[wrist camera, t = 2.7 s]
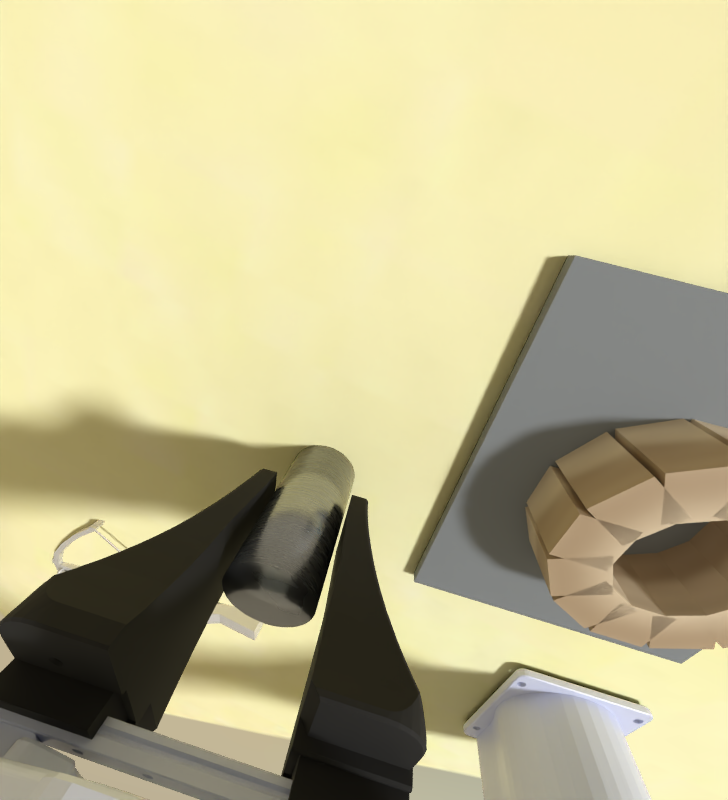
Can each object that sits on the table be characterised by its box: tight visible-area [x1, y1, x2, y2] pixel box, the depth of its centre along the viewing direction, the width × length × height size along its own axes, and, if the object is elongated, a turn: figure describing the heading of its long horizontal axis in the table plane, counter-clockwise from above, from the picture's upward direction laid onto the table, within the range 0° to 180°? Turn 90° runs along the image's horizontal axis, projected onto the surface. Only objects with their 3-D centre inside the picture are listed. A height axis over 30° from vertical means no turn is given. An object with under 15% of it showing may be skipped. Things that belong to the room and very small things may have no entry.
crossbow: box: [52, 520, 263, 640], centre depth 22 cm, size 16×13×2 cm
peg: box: [222, 446, 354, 627], centre depth 12 cm, size 3×3×6 cm
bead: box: [525, 419, 728, 649], centre depth 11 cm, size 8×8×2 cm
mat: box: [414, 256, 728, 664], centre depth 12 cm, size 16×14×1 cm
